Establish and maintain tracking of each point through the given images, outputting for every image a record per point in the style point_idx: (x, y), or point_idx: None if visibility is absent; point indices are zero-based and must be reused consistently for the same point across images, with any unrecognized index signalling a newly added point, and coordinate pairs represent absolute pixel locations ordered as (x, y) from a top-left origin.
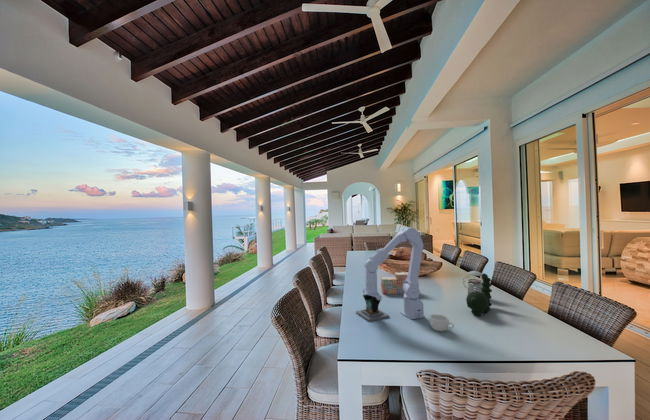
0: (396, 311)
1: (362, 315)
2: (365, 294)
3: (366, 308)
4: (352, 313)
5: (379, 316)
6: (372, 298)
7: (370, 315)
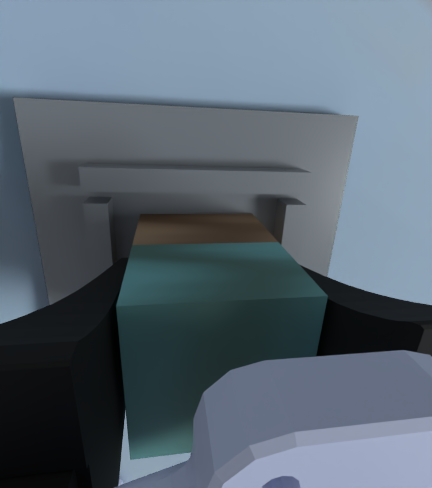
0: (172, 465)
1: (189, 109)
2: (264, 374)
3: (259, 230)
4: (367, 66)
5: (69, 286)
6: (22, 440)
7: (82, 182)
